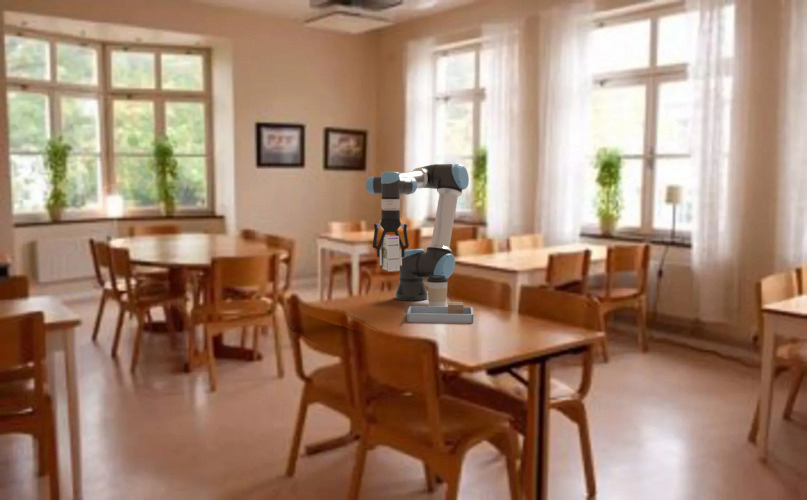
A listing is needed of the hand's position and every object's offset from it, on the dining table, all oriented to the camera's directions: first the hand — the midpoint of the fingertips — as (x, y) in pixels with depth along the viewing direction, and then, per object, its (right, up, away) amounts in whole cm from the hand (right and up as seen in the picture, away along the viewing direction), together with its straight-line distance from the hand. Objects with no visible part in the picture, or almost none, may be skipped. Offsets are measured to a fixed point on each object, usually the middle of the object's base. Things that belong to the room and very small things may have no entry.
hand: (390, 265), depth 279 cm
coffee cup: (+20, -20, +10) cm, 30 cm away
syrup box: (0, -2, 0) cm, 2 cm away
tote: (+20, -22, -11) cm, 31 cm away
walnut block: (+26, -21, -11) cm, 35 cm away
